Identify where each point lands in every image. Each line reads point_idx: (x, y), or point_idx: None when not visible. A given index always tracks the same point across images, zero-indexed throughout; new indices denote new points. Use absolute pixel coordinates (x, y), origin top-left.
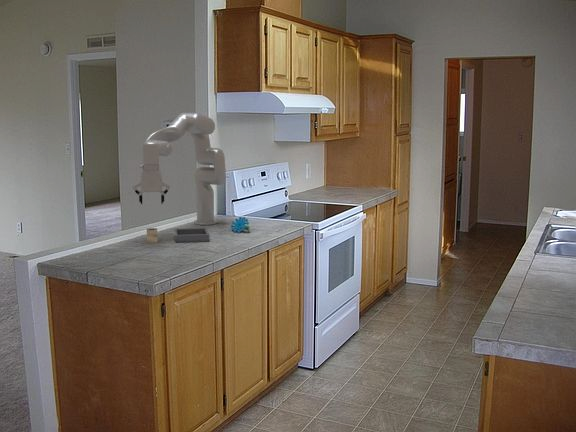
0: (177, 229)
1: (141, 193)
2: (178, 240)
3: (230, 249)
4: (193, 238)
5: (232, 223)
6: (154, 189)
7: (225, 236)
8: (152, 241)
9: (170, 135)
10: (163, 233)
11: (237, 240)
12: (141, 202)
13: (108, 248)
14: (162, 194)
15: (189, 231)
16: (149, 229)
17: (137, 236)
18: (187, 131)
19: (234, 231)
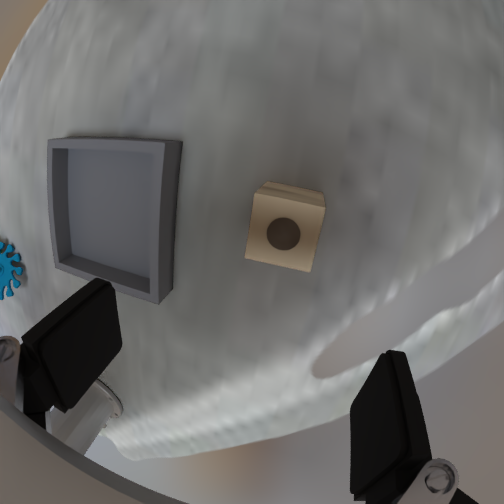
0: (146, 292)
1: (412, 501)
2: (164, 140)
3: (51, 23)
4: (102, 138)
5: (12, 292)
6: (27, 496)
7: (31, 212)
8: (293, 186)
9: None
10: (213, 345)
11: (14, 146)
12: (399, 363)
13: (499, 146)
14: (15, 357)
15: (108, 273)
16: (300, 233)
17: (331, 335)
18: None
19: (17, 256)
